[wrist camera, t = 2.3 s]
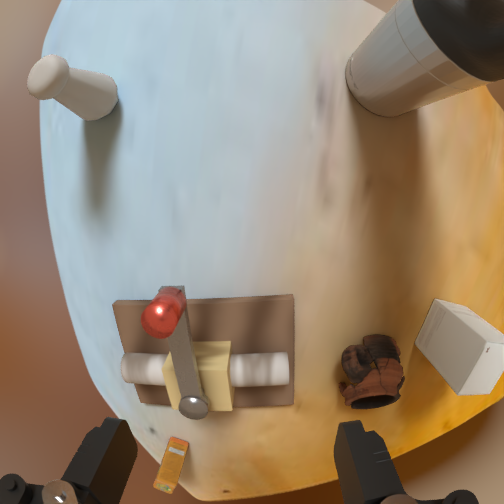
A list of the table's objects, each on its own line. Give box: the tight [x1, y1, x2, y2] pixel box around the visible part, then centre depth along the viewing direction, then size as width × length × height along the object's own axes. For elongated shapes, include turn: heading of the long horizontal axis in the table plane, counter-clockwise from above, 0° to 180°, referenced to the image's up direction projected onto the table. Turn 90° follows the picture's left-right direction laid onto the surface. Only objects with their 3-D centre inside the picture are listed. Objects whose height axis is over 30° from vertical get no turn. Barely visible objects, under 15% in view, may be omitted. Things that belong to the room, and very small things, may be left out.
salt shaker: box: [27, 54, 118, 121], centre depth 23 cm, size 6×6×13 cm
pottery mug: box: [339, 335, 405, 409], centre depth 35 cm, size 12×10×8 cm
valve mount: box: [112, 294, 294, 411], centre depth 33 cm, size 22×16×9 cm
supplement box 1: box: [153, 437, 189, 494], centre depth 37 cm, size 3×4×10 cm
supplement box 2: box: [415, 299, 504, 395], centre depth 30 cm, size 7×7×13 cm
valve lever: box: [141, 286, 210, 420], centre depth 24 cm, size 15×3×5 cm, turn 4°
